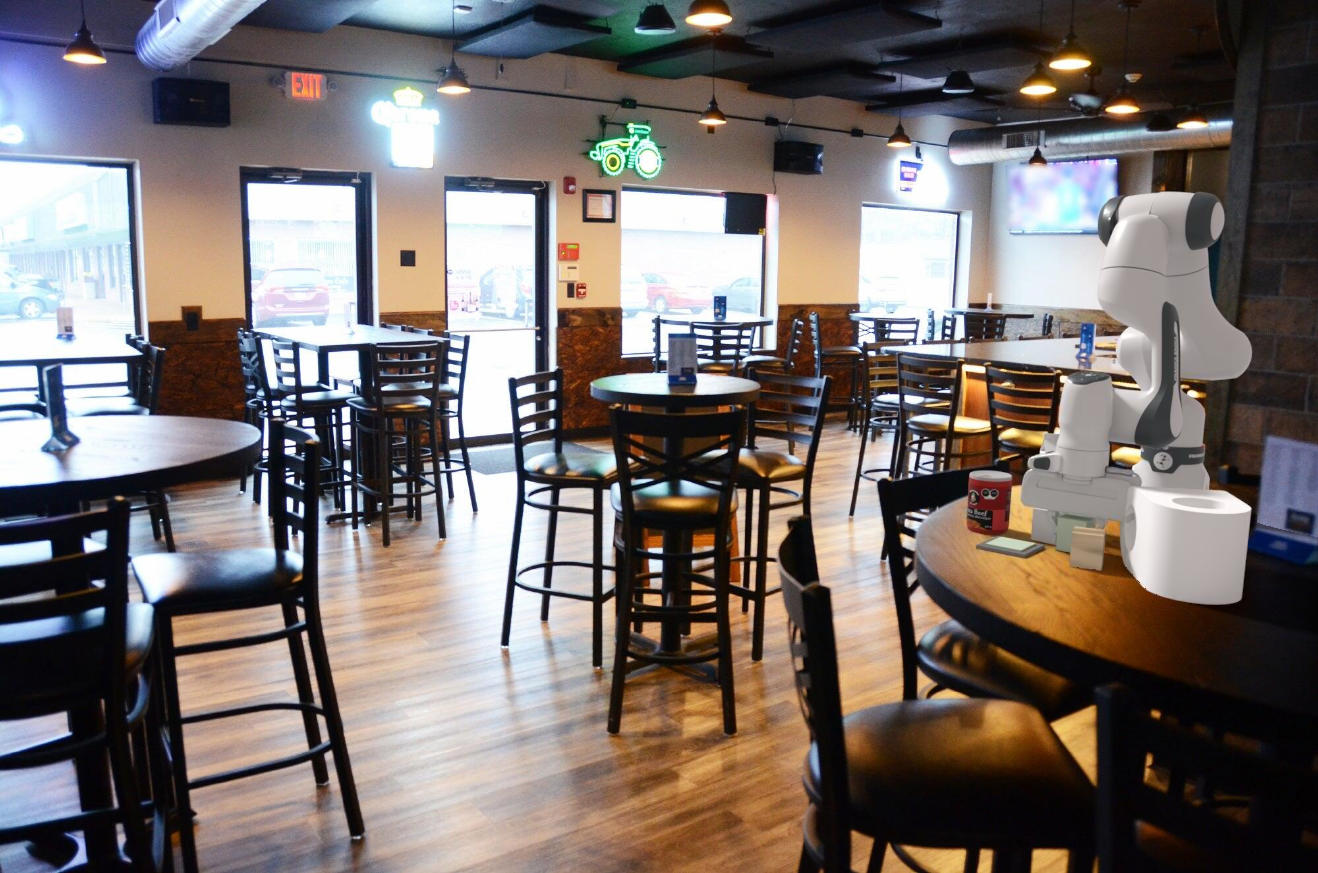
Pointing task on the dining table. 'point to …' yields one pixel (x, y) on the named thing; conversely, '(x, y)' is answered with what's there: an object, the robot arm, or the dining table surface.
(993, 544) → the swatch
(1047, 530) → the grey block
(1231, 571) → the white cross-bored block
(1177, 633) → the dining table surface
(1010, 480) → the canned food
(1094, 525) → the sage block
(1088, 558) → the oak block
